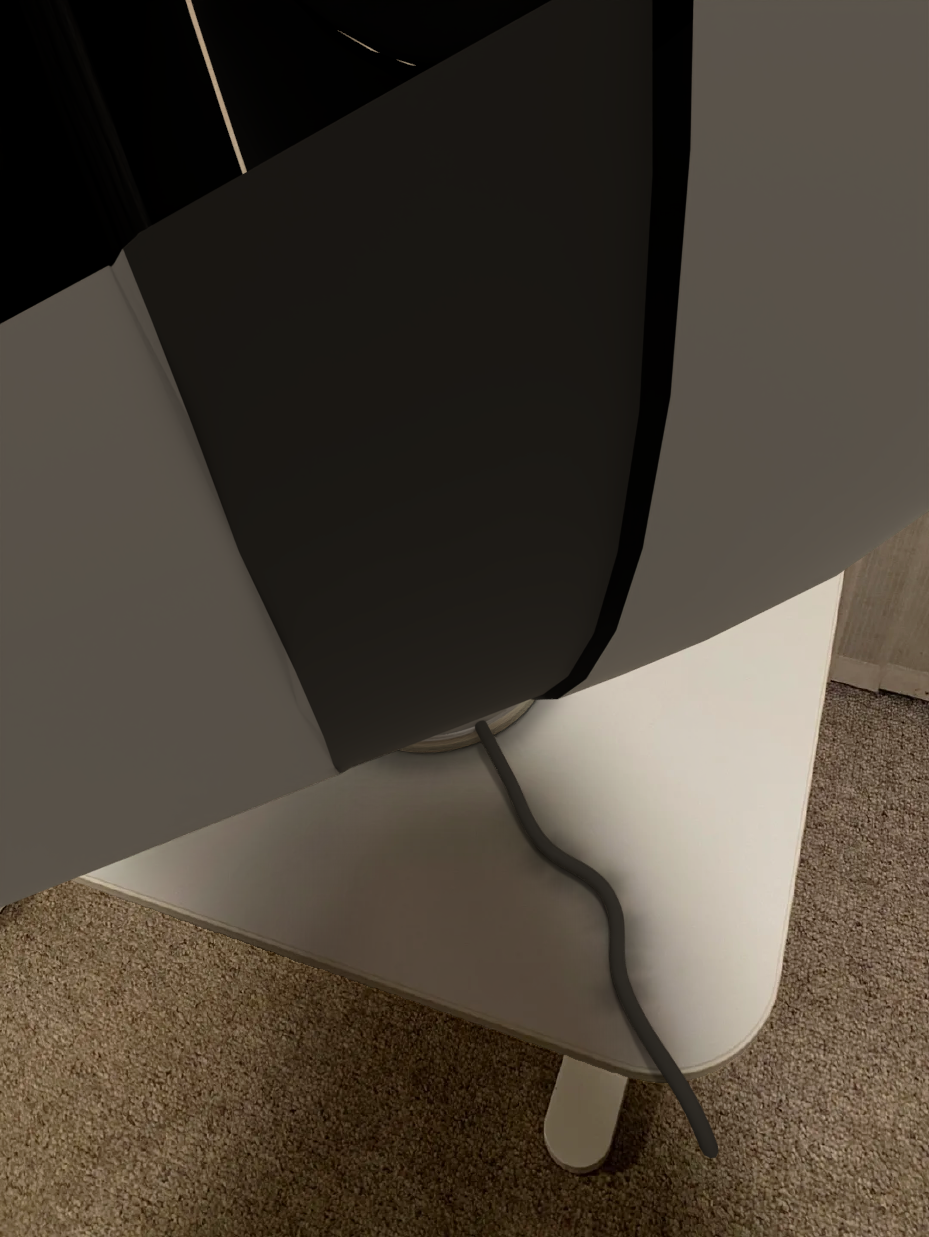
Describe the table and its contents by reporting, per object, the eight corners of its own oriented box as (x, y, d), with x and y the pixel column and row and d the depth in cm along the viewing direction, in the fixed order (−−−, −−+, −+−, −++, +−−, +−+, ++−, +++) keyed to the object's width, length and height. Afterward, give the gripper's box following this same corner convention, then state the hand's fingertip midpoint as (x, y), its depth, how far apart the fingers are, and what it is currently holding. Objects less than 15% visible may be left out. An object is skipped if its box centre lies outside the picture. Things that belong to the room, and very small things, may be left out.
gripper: (119, -127, 49) (236, 253, 65) (-395, 18, 40) (-111, 420, 56) (189, -115, 45) (296, 287, 61) (-364, 50, 36) (-67, 474, 51)
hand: (102, 351), depth 58 cm, fingers open, 13 cm apart
